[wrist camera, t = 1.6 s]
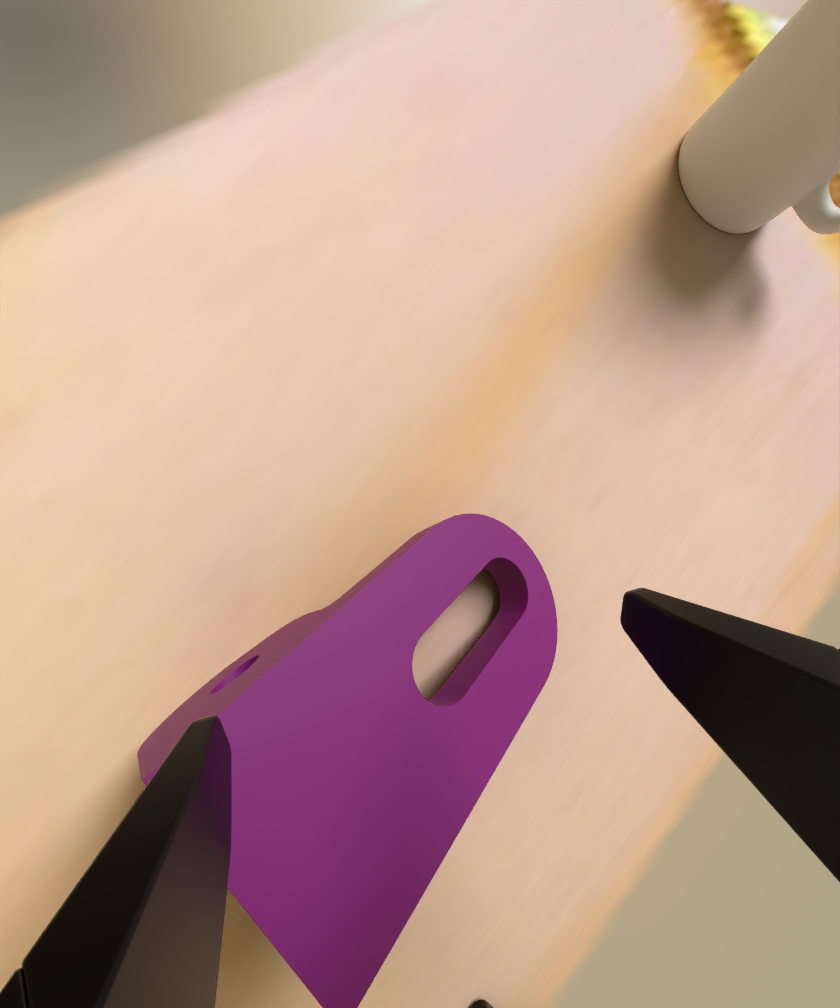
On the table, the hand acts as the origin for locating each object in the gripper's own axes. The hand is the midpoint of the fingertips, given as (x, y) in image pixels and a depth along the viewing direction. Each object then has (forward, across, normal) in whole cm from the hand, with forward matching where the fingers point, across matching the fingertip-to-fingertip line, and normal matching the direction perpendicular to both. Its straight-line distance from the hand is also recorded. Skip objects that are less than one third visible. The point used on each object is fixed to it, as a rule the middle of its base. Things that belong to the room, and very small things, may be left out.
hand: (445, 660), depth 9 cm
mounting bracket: (+11, 0, +10) cm, 15 cm away
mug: (+22, -31, -12) cm, 40 cm away
